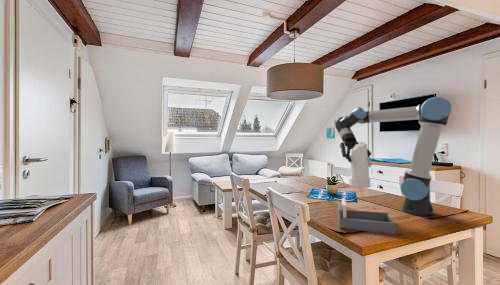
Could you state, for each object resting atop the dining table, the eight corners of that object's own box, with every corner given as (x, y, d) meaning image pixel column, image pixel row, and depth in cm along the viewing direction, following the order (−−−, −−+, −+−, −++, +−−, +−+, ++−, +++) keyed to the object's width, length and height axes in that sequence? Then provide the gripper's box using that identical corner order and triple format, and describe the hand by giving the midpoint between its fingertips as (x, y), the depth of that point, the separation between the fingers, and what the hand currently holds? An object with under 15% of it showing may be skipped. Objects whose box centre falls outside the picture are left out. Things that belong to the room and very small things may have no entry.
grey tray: (387, 222, 121) (387, 205, 121) (395, 234, 106) (395, 214, 106) (338, 217, 129) (338, 201, 129) (339, 228, 114) (339, 210, 113)
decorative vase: (359, 188, 125) (358, 142, 124) (345, 184, 135) (344, 141, 134) (374, 186, 128) (374, 141, 128) (360, 183, 138) (359, 141, 138)
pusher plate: (344, 217, 126) (344, 198, 126) (346, 225, 114) (346, 205, 114) (340, 216, 127) (340, 198, 127) (341, 225, 115) (341, 204, 114)
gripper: (362, 140, 147) (378, 169, 132) (328, 141, 145) (341, 170, 130) (366, 132, 142) (384, 160, 126) (332, 132, 140) (345, 162, 124)
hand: (362, 165), depth 128 cm, fingers closed on decorative vase, 9 cm apart
